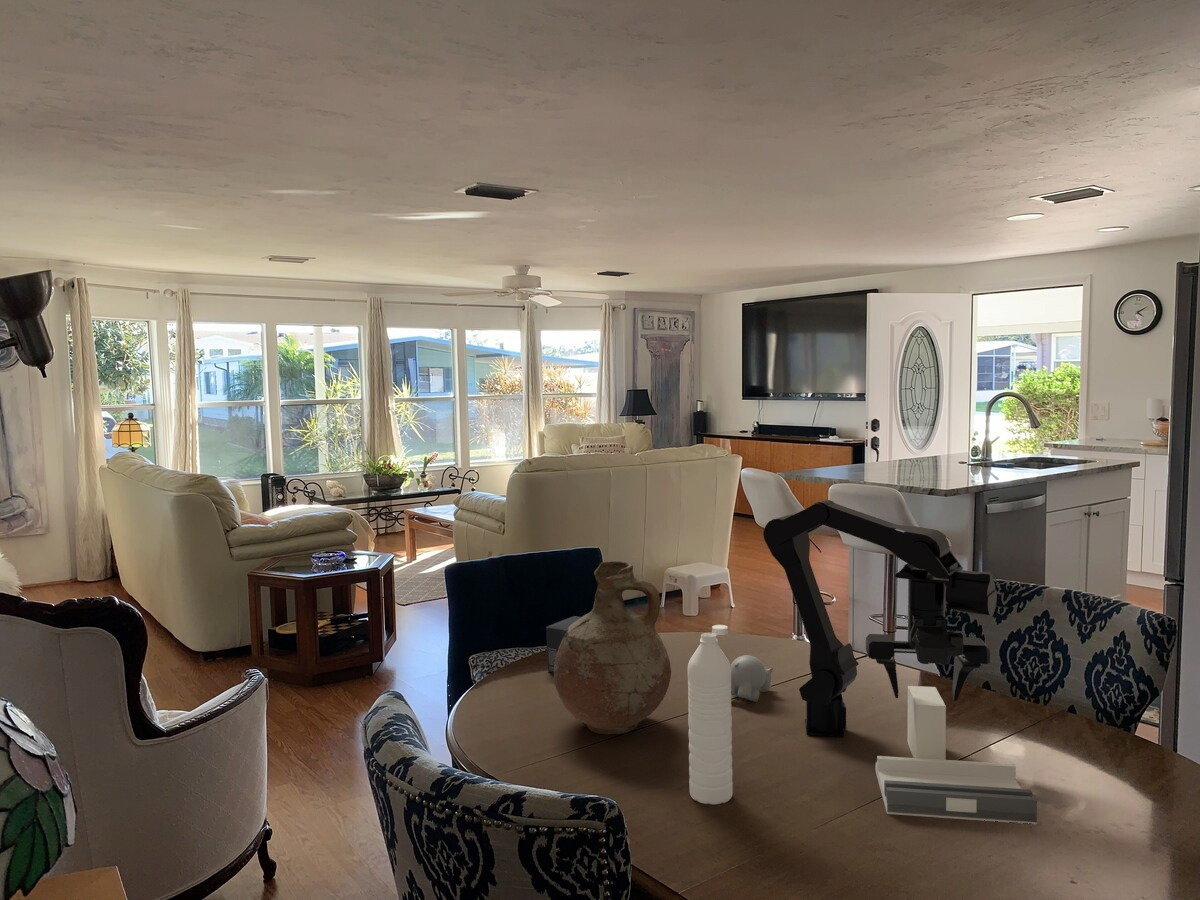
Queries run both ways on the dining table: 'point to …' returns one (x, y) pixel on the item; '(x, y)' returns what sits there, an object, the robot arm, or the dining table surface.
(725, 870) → the dining table surface
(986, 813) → the shelf
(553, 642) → the small box
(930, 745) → the cream carton
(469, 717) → the dining table surface
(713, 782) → the water bottle
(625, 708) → the jug
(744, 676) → the round bodied animal figurine
